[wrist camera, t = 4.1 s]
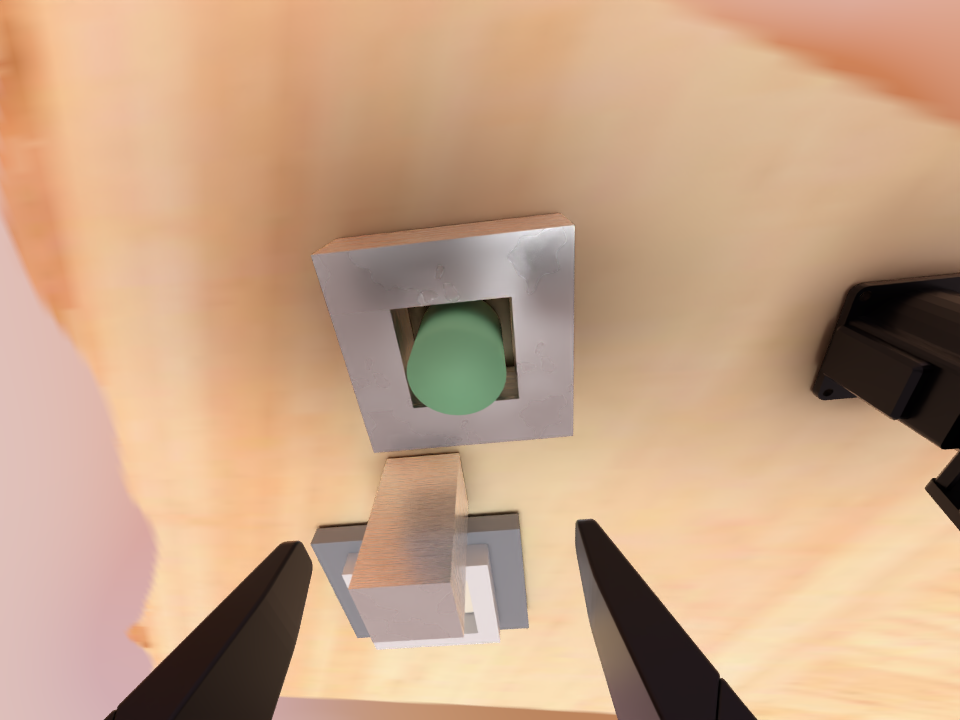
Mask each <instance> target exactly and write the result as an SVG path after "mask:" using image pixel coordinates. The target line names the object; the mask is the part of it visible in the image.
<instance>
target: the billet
mask: <svg viewBox="0 0 960 720" xmlns="http://www.w3.org/2000/svg"><path fill="white" fill-rule="evenodd" d="M467 527H468V500H467V494H466V488H465V483H464V477H463V472H462V466H461V461H460V455H459V453H453V454H441V455H430V456H418V457H406V458H394V459H387V460H386V463H385V467H384V470H383V474H382V477H381V480H380V484H379V487H378V490H377V494H376V497H375V500H374V504H373V507H372V510H371V514H370V517H369V520H368V524H367V527H366V531H365V534H364V537H363V541H362V544H361V547H360V551H359V554H358V557H357V561H356V564H355V567H354V571H353V574H352V578H351V581H350V584H349V588H348V590H349V593H350V595H351V597H352V599H353V601H354V603H355V605H356V607H357V610H358V612H359V614H360V616H361V618H362V620H363V622H364V624H365V627H366V629H367V631H368V633H369V635H370V637H371V639H372V641H373V643H376V642H393V641H410V640H428V639H445V638H462V637H464V617H465V587H466V557H467Z"/></svg>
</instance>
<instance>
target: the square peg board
mask: <svg viewBox="0 0 960 720" xmlns="http://www.w3.org/2000/svg"><path fill="white" fill-rule="evenodd" d="M574 257H575V225H574V224H573V223H572V222H570V221H569V220H568V219H567V218H566V217H564V216H563V215H562V214H561V213H553V214H545V215H536V216H528V217H519V218H510V219H502V220H493V221H484V222H476V223H467V224H458V225H450V226H441V227H432V228H424V229H415V230H406V231H398V232H389V233H380V234H372V235H363V236H354V237H346V238H337V239H335V240H333V241H332V242H330V243H329V244H327V245H326V246H324V247H323V248H321V249H319V250H318V251H316V252H315V253H313V254H312V255H311V258H312V261H313V264H314V267H315V270H316V273H317V276H318V279H319V282H320V286H321V289H322V292H323V295H324V298H325V301H326V304H327V307H328V311H329V314H330V317H331V320H332V323H333V326H334V329H335V332H336V335H337V339H338V342H339V345H340V348H341V351H342V354H343V357H344V360H345V364H346V367H347V370H348V373H349V376H350V379H351V382H352V385H353V388H354V392H355V395H356V398H357V401H358V404H359V407H360V410H361V413H362V417H363V420H364V423H365V426H366V429H367V432H368V435H369V438H370V441H371V445H372V448H373V451H374V453H377V452H388V451H400V450H412V449H424V448H436V447H447V446H459V445H471V444H483V443H495V442H507V441H518V440H530V439H542V438H554V437H566V436H573V378H574ZM504 297H509V306H510V319H511V332H512V345H513V357H514V367H506V382H505V385H504V388H503V390H502V392H501V394H500V395H499V397H498V398H497V399H496V400H495V401H494V402H493V403H492V404H491V405H489V406H488V407H486V408H485V409H483V410H481V411H478V412H476V413H472V414H467V415H449V414H444V413H440V412H437V411H435V410H433V409H431V408H429V407H427V406H426V405H425V404H423V403H422V402H421V401H420V400H419V399H418V398H417V397H416V396H415V394H414V393H413V391H412V390H411V388H410V385H409V382H408V379H407V364H408V360H409V357H410V354H411V351H412V348H413V345H414V337H413V333H412V328H411V323H410V319H409V314H408V309H407V308H408V307H418V306H428V305H437V304H447V303H456V302H466V301H475V300H485V299H494V298H504Z"/></svg>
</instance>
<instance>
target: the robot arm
mask: <svg viewBox="0 0 960 720" xmlns="http://www.w3.org/2000/svg"><path fill="white" fill-rule="evenodd" d="M863 293H864V294H863ZM862 294H863V295H862ZM861 295H862V296H861ZM860 296H861V297H860ZM813 394H814V395H815V396H817V397H818V398H819V399H821V400H833V399H844V398H856V397H859V398H860V399H862V400H863V401H865V402H866V403H868V404H869V405H871V406H872V407H874V408H875V409H877V410H878V411H880V412H881V413H883V414H884V415H886V416H887V417H889V418H890V419H893V420H898V421H900V422H902V423H903V424H905V425H906V426H908V427H909V428H911V429H912V430H914V431H915V432H917V433H918V434H920V435H921V436H923V437H924V438H926V439H927V440H929V441H930V442H932V443H934V444H935V445H937V446H938V447H940V448H941V449H955V450H956V451H958V452H957V454H956V455H955V456H954V457H953V459H952V460H951V461H950V462H949V463H948V465H947V466H946V467H945V468H944V469H943V471H942V472H941V473H940V474H939V476H938V477H937V478H932V479H931V481H930V482H929V483H928V484H927V485H926V487H925V490H926V491H927V492H928V493H929V495H930V496H931V497H932V498H933V499H934V501H935V502H936V503H937V504H938V505H939V507H940V508H941V509H942V510H943V511H944V513H945V514H946V515H947V516H948V517H949V519H950V520H951V521H952V522H953V523H954V525H955V526H956V527H957V528H958V529H959V531H960V273H958V274H948V275H938V276H928V277H919V278H909V279H899V280H889V281H879V282H869V283H861V284H858V285H856V286H854V287H853V288H852V289H851V290H850V291H849V293H848V295H847V298H846V301H845V303H844V306H843V309H842V311H841V314H840V317H839V320H838V322H837V325H836V328H835V331H834V333H833V336H832V339H831V341H830V344H829V347H828V350H827V352H826V355H825V358H824V361H823V363H822V366H821V369H820V371H819V374H818V377H817V380H816V382H815V385H814V388H813ZM575 546H576V554H577V559H578V564H579V570H580V575H581V580H582V586H583V591H584V596H585V602H586V607H587V612H588V617H589V622H590V626H591V630H592V633H593V637H594V641H595V644H596V647H597V651H598V654H599V657H600V661H601V664H602V668H603V671H604V674H605V678H606V681H607V684H608V688H609V691H610V694H611V698H612V701H613V705H614V708H615V711H616V715H617V718H618V720H757V719H756V717H755V716H754V715H753V714H752V713H751V711H750V710H749V709H748V708H747V707H746V706H745V704H744V703H743V702H742V701H741V699H740V698H739V697H738V696H737V695H736V693H735V692H734V691H733V690H732V688H731V687H730V686H729V685H728V683H727V682H726V681H725V680H724V679H723V678H720V674H719V673H718V671H717V670H716V669H715V668H714V666H713V665H712V664H711V663H710V661H709V660H708V659H707V658H706V656H705V655H704V654H703V653H702V652H701V650H700V649H699V648H698V647H697V645H696V644H695V643H694V642H693V640H692V639H691V638H690V637H689V635H688V634H687V633H686V632H685V630H684V629H683V628H682V627H681V626H680V624H679V623H678V622H677V621H676V619H675V618H674V617H673V616H672V614H671V613H670V612H669V611H668V609H667V608H666V607H665V606H664V605H663V603H662V602H661V601H660V600H659V598H658V597H657V596H656V595H655V593H654V592H653V591H652V590H651V588H650V587H649V586H648V585H647V584H646V582H645V581H644V580H643V579H642V577H641V576H640V575H639V574H638V572H637V571H636V570H635V569H634V567H633V566H632V565H631V564H630V563H629V561H628V560H627V559H626V558H625V556H624V555H623V554H622V553H621V551H620V550H619V549H618V548H617V546H616V545H615V544H614V543H613V541H612V540H611V539H610V538H609V537H608V535H607V534H606V533H605V532H604V530H603V529H602V528H601V527H600V525H599V524H598V523H597V522H596V521H595V520H593V519H582V520H577V521H576V528H575ZM311 575H312V561H311V559H310V557H309V555H308V553H307V551H306V549H305V547H304V545H303V544H302V542H300V541H287V542H283V543H281V544H280V545H279V546H278V547H277V548H276V549H275V550H274V551H273V552H272V553H271V554H270V555H269V556H268V557H267V558H266V559H265V560H264V561H263V562H262V563H260V564H259V565H258V566H257V567H256V568H255V569H254V570H253V571H252V572H251V573H250V574H249V575H248V576H247V577H246V578H245V579H244V580H243V581H242V582H241V583H240V584H239V585H238V586H237V587H236V588H235V589H234V590H233V591H232V592H231V593H230V594H229V595H228V596H227V597H226V598H225V599H224V600H223V601H222V602H221V603H220V604H219V605H218V606H217V607H216V608H215V609H214V610H213V611H212V612H211V613H210V614H209V615H208V616H207V617H206V618H205V619H204V620H203V621H202V622H201V623H200V624H199V625H198V626H197V627H196V628H195V629H194V630H193V631H192V632H191V633H190V634H189V635H188V636H187V637H186V638H185V639H184V640H183V641H182V642H181V643H180V644H179V645H178V646H177V647H176V648H175V649H174V650H173V651H172V652H171V653H170V654H169V655H168V656H167V657H166V658H165V659H164V660H163V661H162V662H161V663H160V664H159V665H158V666H157V667H156V668H155V669H154V670H153V671H152V672H151V673H150V674H149V675H148V676H147V677H146V678H145V679H144V680H143V681H142V682H141V683H140V684H139V685H138V686H137V687H136V689H134V690H133V691H132V692H131V693H130V694H129V695H128V696H127V697H126V698H125V699H124V700H123V701H122V702H121V703H120V704H119V706H118V707H117V710H114V711H112V712H111V713H110V714H109V715H108V716H107V717H106V718H105V719H104V720H272V717H273V714H274V711H275V708H276V704H277V701H278V698H279V695H280V692H281V689H282V686H283V683H284V680H285V676H286V673H287V670H288V667H289V664H290V661H291V658H292V655H293V651H294V648H295V645H296V641H297V637H298V633H299V629H300V624H301V620H302V615H303V611H304V606H305V602H306V597H307V593H308V588H309V584H310V579H311Z"/></svg>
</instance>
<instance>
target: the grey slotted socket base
mask: <svg viewBox="0 0 960 720" xmlns="http://www.w3.org/2000/svg"><path fill="white" fill-rule="evenodd" d="M366 527H367V525H359V526H345V527H332V528H318V529H317V530H316V533H315V535H314V537H313V540H312V542H311V546H312V548H313V550H314V552H315V554H316V556H317V558H318V560H319V562H320V564H321V566H322V568H323V570H324V572H325V574H326V576H327V578H328V580H329V582H330V584H331V586H332V588H333V590H334V592H335V594H336V596H337V598H338V600H339V602H340V604H341V606H342V608H343V610H344V612H345V614H346V616H347V618H348V620H349V622H350V624H351V626H352V628H353V630H354V632H355V634H356V636H357V638H365V637H370V635H369V633H368V631H367V629H366V627H365V624H364V622H363V620H362V618H361V616H360V614H359V612H358V610H357V607H356V605H355V603H354V601H353V599H352V597H351V595H350V593H349V590H348V588H349V584H350V581H351V578H352V574H353V571H354V567H355V564H356V561H357V557H358V554H359V551H360V547H361V544H362V541H363V537H364V534H365V531H366ZM518 628H529V624H528V613H527V602H526V591H525V580H524V570H523V559H522V548H521V537H520V526H519V516H518V514H506V515H493V516H479V517H468V527H467V557H466V587H465V617H464V637H462V638H445V639H428V640H410V641H393V642H376V643H374V645H375V647H376V649H395V648H412V647H430V646H447V645H465V644H483V643H500V630H501V629H518Z"/></svg>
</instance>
